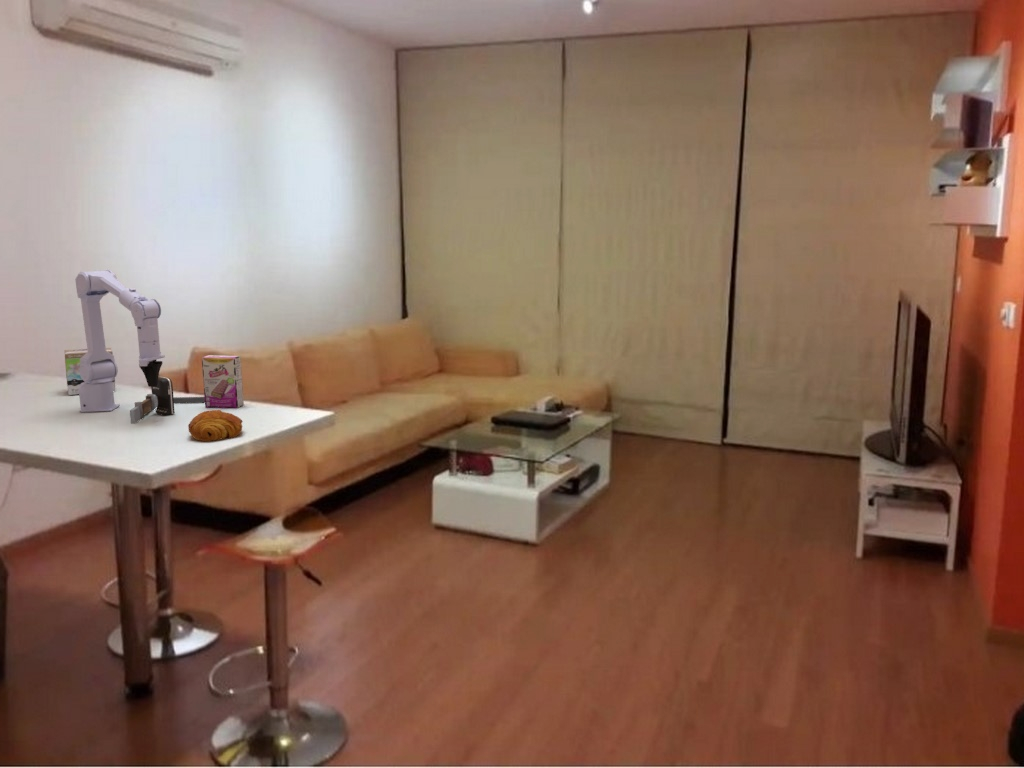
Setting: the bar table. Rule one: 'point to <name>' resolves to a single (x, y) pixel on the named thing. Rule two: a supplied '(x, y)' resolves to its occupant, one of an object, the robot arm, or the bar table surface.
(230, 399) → the candy bar box
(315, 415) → the bar table surface
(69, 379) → the tea box
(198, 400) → the bar
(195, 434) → the croissant
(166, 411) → the battery charger
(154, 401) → the fence
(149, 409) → the gate
